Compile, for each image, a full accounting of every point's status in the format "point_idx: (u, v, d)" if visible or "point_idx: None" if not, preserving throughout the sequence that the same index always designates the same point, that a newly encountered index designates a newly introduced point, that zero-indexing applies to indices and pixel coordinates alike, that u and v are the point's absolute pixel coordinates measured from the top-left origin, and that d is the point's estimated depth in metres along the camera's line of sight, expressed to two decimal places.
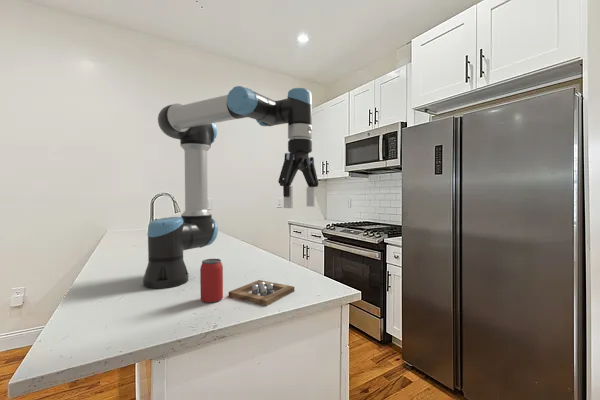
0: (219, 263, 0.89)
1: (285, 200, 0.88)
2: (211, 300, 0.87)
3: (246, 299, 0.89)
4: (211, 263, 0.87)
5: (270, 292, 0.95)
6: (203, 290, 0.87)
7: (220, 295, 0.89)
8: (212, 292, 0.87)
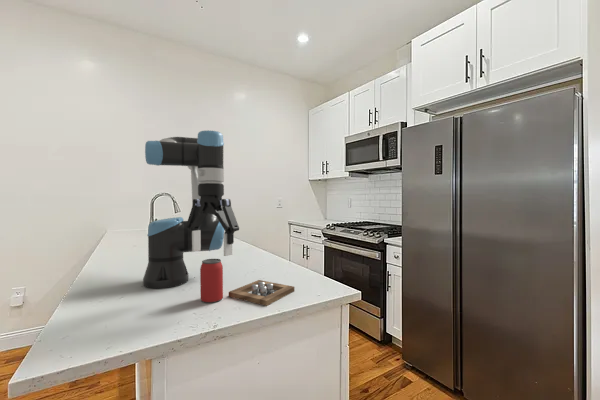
0: (219, 263, 0.89)
1: None
2: (211, 300, 0.87)
3: (246, 299, 0.89)
4: (211, 263, 0.87)
5: (270, 292, 0.95)
6: (203, 290, 0.87)
7: (220, 295, 0.89)
8: (212, 292, 0.87)
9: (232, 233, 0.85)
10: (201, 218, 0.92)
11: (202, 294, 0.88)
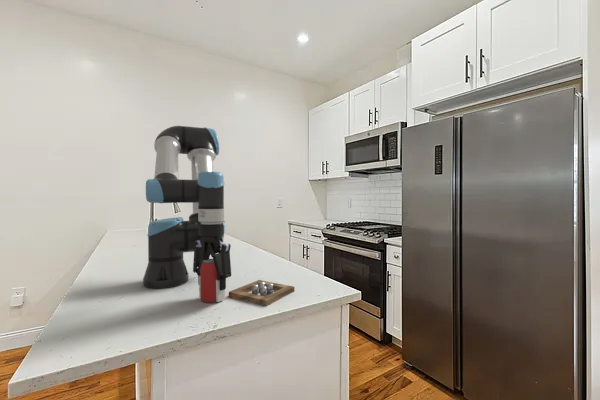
0: None
1: None
2: (211, 300, 0.87)
3: (246, 299, 0.89)
4: (211, 263, 0.87)
5: (270, 292, 0.95)
6: (203, 290, 0.87)
7: None
8: (212, 292, 0.87)
9: (224, 279, 0.87)
10: (205, 259, 0.91)
11: (202, 294, 0.88)
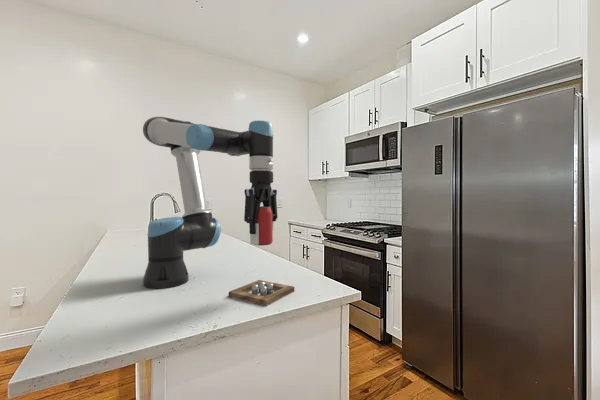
0: None
1: (252, 236, 0.92)
2: None
3: (246, 299, 0.89)
4: (270, 207, 0.95)
5: (270, 292, 0.95)
6: (270, 233, 0.93)
7: None
8: None
9: None
10: None
11: (269, 237, 0.93)
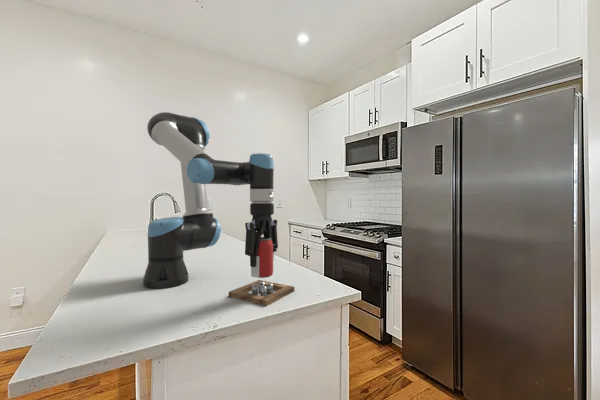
0: None
1: (252, 269, 0.92)
2: None
3: (246, 299, 0.89)
4: (270, 238, 0.96)
5: (270, 292, 0.95)
6: (270, 265, 0.93)
7: None
8: None
9: None
10: None
11: (270, 269, 0.93)
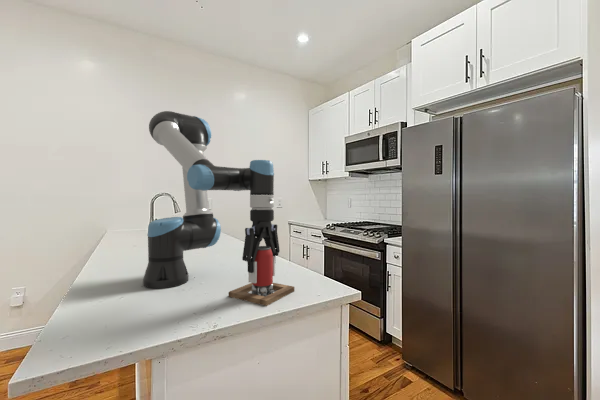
0: None
1: (250, 275, 0.91)
2: None
3: (246, 299, 0.89)
4: (270, 247, 0.96)
5: (270, 292, 0.95)
6: (270, 274, 0.93)
7: None
8: None
9: None
10: None
11: (269, 278, 0.93)
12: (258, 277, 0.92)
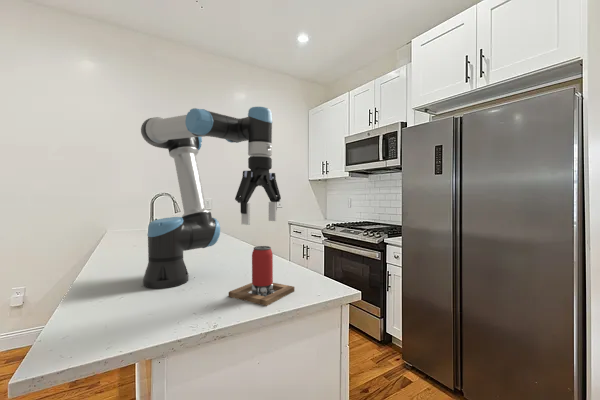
0: None
1: (243, 216, 0.90)
2: None
3: (246, 299, 0.89)
4: (270, 247, 0.96)
5: (270, 292, 0.95)
6: (270, 274, 0.93)
7: None
8: None
9: None
10: None
11: (269, 278, 0.93)
12: (258, 277, 0.92)
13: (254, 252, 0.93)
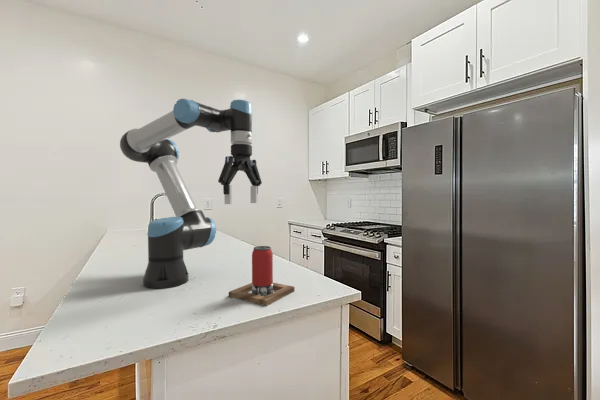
0: None
1: (226, 197, 1.01)
2: None
3: (246, 299, 0.89)
4: (270, 247, 0.96)
5: (270, 292, 0.95)
6: (270, 274, 0.93)
7: None
8: None
9: None
10: None
11: (269, 278, 0.93)
12: (258, 277, 0.92)
13: (254, 252, 0.93)
